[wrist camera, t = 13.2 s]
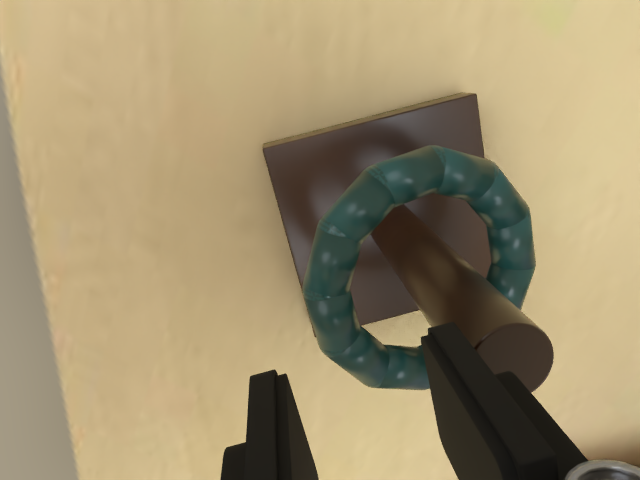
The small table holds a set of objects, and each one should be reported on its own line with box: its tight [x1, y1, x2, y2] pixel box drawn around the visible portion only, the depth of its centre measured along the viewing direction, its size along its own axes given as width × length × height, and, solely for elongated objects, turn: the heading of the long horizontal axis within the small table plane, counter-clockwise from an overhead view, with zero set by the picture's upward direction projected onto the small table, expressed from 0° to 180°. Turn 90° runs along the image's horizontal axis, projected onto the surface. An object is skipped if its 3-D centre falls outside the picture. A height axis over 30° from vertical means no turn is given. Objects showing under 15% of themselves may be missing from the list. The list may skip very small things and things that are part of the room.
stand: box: [263, 93, 554, 393], centre depth 17 cm, size 9×9×12 cm
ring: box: [303, 145, 536, 390], centre depth 16 cm, size 8×8×1 cm
